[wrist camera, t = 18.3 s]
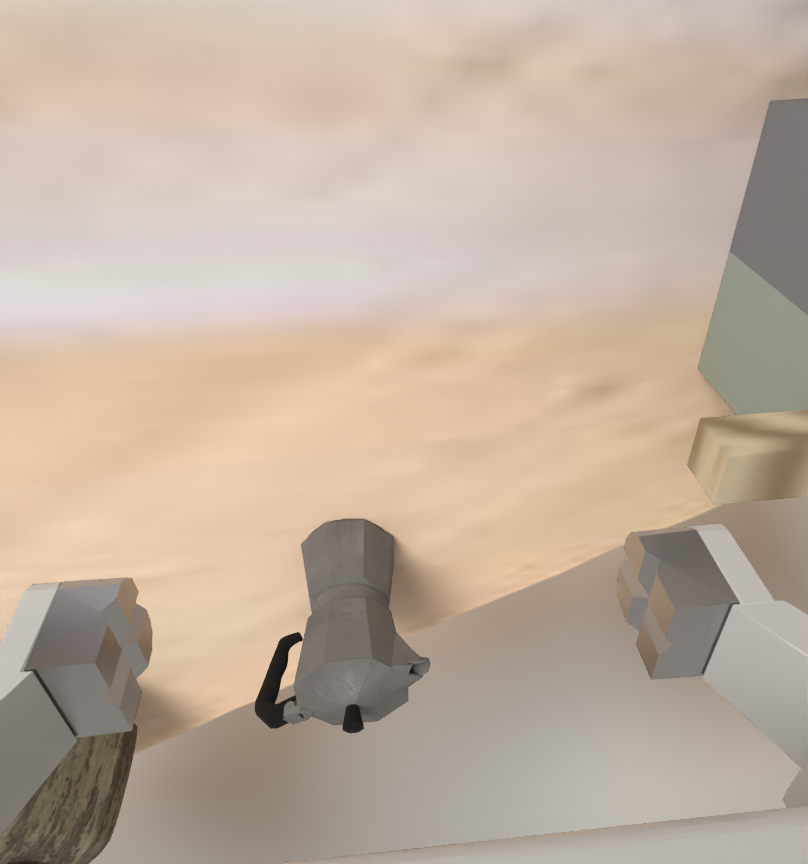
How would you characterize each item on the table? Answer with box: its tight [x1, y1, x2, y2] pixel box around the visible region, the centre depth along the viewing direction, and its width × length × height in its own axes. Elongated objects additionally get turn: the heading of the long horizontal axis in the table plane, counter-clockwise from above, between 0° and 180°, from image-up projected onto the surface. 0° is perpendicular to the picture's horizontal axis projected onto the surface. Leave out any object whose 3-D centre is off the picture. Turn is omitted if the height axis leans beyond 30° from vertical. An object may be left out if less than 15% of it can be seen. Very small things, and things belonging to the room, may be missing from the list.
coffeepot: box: [255, 519, 430, 733], centre depth 57 cm, size 15×9×18 cm, turn 114°
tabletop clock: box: [0, 723, 137, 864], centre depth 64 cm, size 14×9×25 cm, turn 139°
